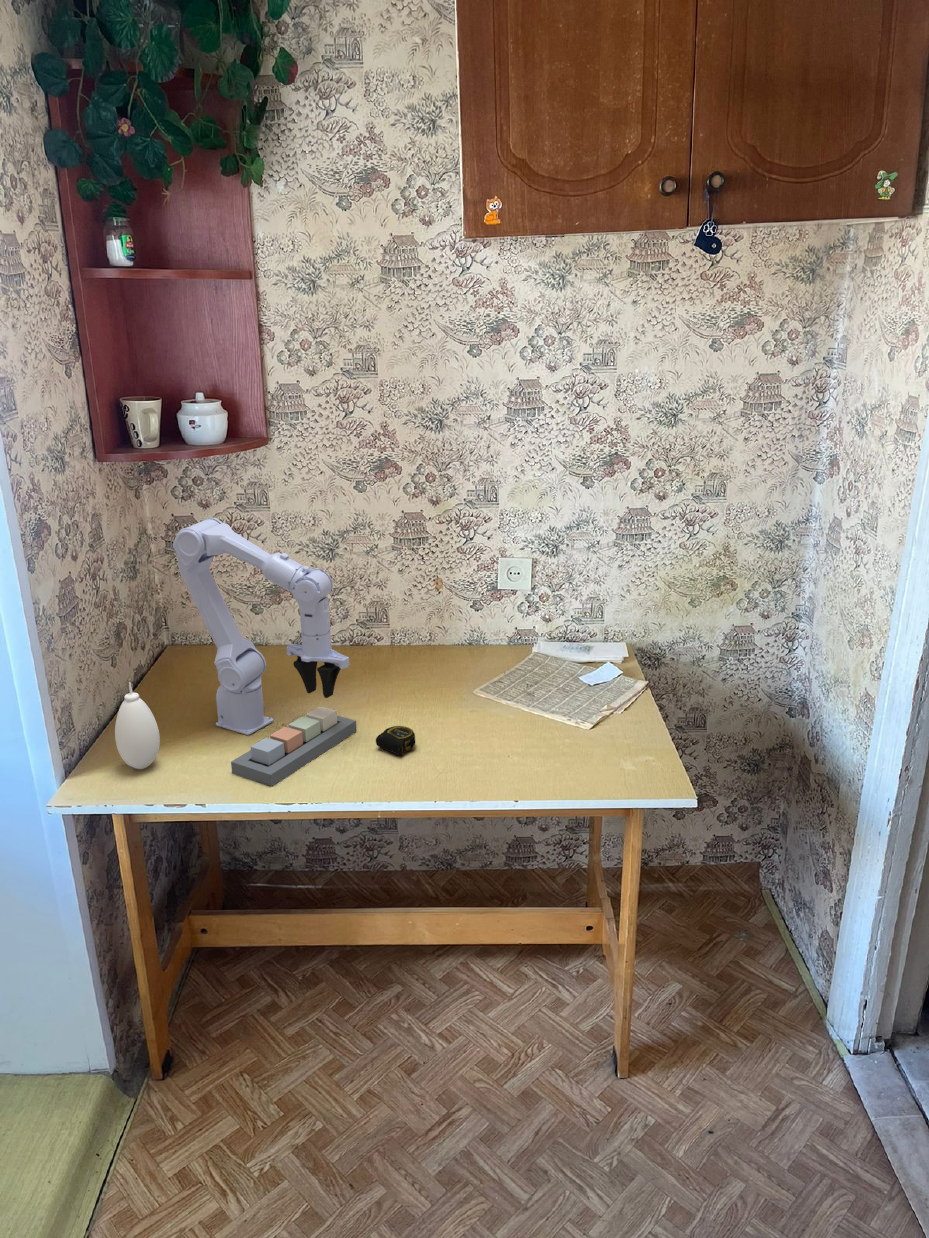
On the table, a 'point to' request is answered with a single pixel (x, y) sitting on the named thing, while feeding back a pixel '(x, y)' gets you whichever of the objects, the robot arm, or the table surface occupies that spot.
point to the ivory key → (324, 717)
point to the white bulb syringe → (136, 732)
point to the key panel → (293, 755)
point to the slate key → (267, 751)
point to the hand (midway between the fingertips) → (320, 693)
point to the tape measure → (396, 739)
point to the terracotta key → (288, 738)
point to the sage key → (306, 727)
